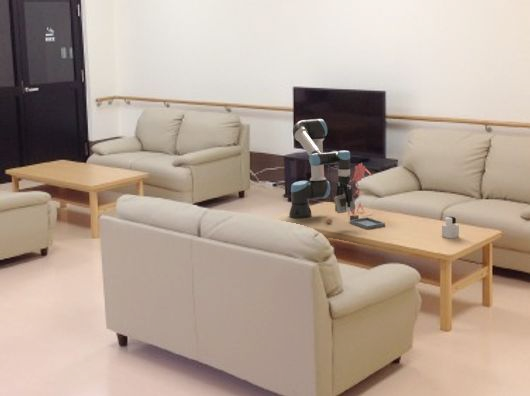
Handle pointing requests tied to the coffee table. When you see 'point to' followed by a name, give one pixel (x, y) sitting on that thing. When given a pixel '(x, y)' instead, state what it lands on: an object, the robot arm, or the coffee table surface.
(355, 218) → the walnut cube
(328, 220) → the terracotta ball
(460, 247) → the coffee table surface
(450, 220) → the medicine bottle
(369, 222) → the tray
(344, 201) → the digital clock
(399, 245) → the coffee table surface
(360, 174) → the figurine
